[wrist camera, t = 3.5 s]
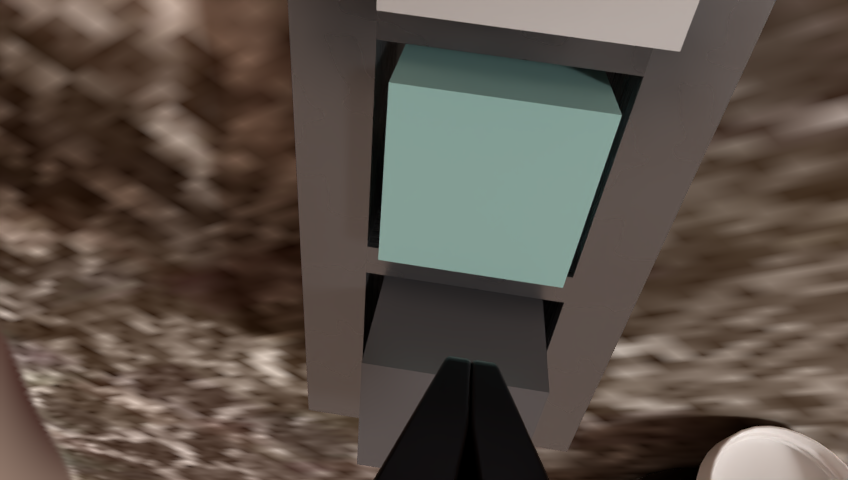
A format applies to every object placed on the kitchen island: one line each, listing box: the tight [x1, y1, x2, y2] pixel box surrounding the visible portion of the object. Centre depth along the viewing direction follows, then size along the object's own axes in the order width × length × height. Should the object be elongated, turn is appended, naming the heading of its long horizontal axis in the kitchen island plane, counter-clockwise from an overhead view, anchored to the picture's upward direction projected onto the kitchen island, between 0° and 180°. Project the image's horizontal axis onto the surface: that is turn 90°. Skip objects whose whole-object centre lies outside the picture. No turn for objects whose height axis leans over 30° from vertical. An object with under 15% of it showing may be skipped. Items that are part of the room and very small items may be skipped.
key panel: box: [288, 0, 776, 451], centre depth 14 cm, size 10×30×4 cm, turn 174°
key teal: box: [378, 44, 622, 288], centre depth 15 cm, size 5×5×4 cm
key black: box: [357, 275, 550, 468], centre depth 18 cm, size 5×5×4 cm
